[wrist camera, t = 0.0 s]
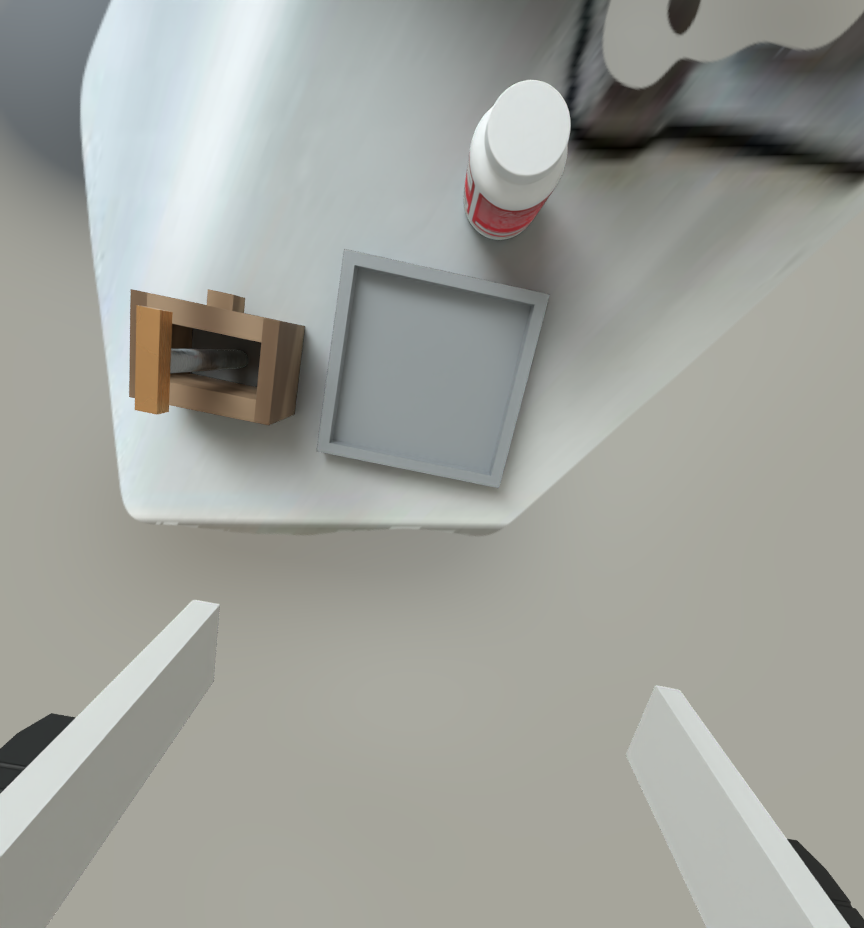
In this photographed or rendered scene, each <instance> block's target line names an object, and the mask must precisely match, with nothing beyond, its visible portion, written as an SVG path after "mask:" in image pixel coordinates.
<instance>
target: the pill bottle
mask: <svg viewBox="0 0 864 928" xmlns="http://www.w3.org/2000/svg"><path fill="white" fill-rule="evenodd" d="M570 127H571V124H570V114H569V110H568V107H567V104H566V102H565V100H564V99H563V97H562V96H561V94H560V93H559V92H558V91H557V90H556V89H555V88H554V87H552V86H551V85H549V84H547V83H545V82H543V81H539V80H525V81H521V82H518V83H516V84H514V85H512V86H510V87H509V88H507V89H506V90H505V91H504V92H503V93H502V94H501V95H500V96H499V98H498V99H497V101H496V102H495V104H494V106H493V107H492V108H490V109H489V110H488V111H487V113H486V114H485V115H484V116H483V117H482V119H481V120H480V122H479V124H478V126H477V128H476V130H475V132H474V135H473V138H472V142H471V146H470V152H469V160H468V167H467V174H466V180H465V187H464V208H465V212H466V215H467V217H468V220H469V222H470V223H471V225H472V226H473V227H474V228H475V229H476V230H477V231H478V232H479V233H480V234H482V235H483V236H485V237H487V238H490V239H495V240H504V239H509V238H512V237H514V236H516V235H518V234H520V233H521V232H522V231H524V230H525V229H526V228H527V227H528V226H529V224H530V223H531V222H532V221H533V219H534V218H535V216H536V215H537V213H538V212H539V210H540V209H541V208H542V206H543V205H544V203H545V202H546V200H547V199H548V197H549V196H550V194H551V193H552V192H553V190H554V189H555V187H556V186H557V184H558V182H559V180H560V178H561V176H562V174H563V171H564V168H565V164H566V160H567V151H568V145H567V143H568V140H569V136H570Z"/></svg>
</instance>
